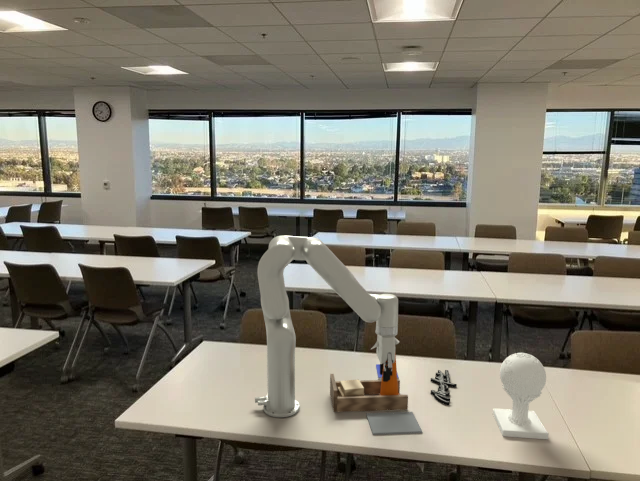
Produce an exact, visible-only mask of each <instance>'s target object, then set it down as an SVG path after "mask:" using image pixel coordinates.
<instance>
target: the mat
mask: <svg viewBox="0 0 640 481" xmlns="http://www.w3.org/2000/svg"><path fill="white" fill-rule="evenodd" d="M365 414H366V418H367V421H368V424H369V427H370V430H371V433H372V434H371V435H373V436H376V435H377V436H378V435H401V434H402V435H403V434H423V429H422V428H421V425H420V423H419V421H418V420H417V418H416V416H415V414H414V412H413V411H395V412H394V411H393V412H388V411H387V412H369V413H368V412H366V413H365Z"/></svg>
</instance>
